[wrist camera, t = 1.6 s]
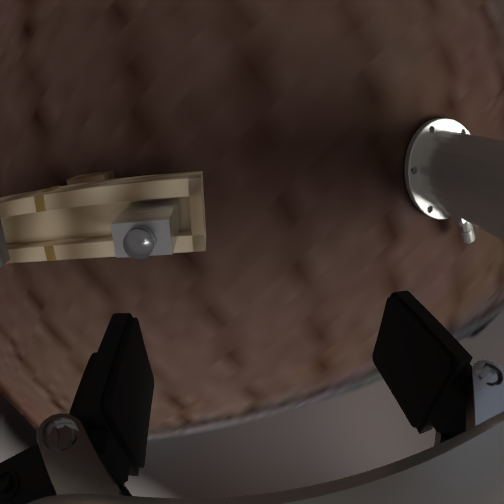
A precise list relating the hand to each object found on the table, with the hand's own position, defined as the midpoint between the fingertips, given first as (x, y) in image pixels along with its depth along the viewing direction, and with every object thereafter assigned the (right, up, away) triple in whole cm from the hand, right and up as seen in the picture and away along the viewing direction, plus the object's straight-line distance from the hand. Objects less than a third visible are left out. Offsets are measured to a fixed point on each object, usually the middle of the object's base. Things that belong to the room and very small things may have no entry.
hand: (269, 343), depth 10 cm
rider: (-9, +6, +15) cm, 18 cm away
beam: (-16, +8, +19) cm, 26 cm away
